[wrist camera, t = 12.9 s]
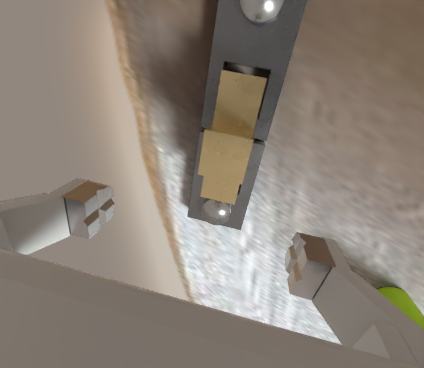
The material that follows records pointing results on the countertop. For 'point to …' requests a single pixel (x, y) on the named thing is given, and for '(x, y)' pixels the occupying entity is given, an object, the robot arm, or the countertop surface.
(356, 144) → the countertop surface
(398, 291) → the soap dispenser
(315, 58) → the countertop surface
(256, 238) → the countertop surface
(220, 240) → the countertop surface
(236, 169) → the tan bridge piece
